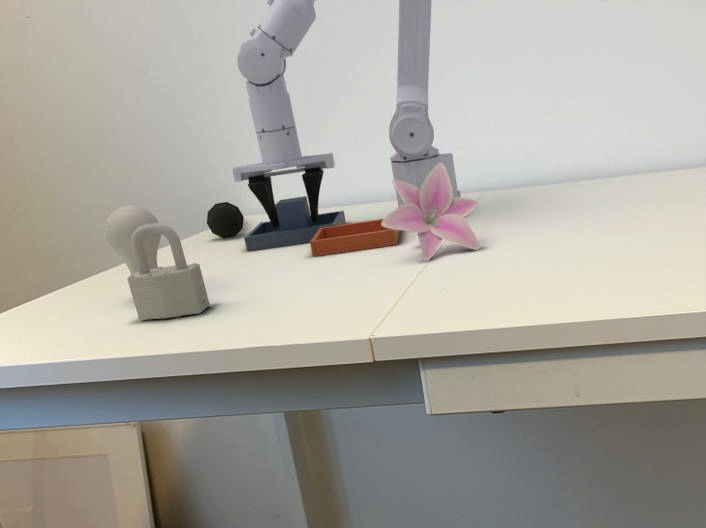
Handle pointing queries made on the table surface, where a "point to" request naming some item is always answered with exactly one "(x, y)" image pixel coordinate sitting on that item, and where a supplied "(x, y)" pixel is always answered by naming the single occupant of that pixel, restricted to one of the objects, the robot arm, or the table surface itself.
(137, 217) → the lightbulb
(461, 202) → the lily
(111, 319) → the table surface
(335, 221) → the slate tray
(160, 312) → the padlock
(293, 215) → the blue block
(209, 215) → the faceted black orb
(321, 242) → the terracotta tray
